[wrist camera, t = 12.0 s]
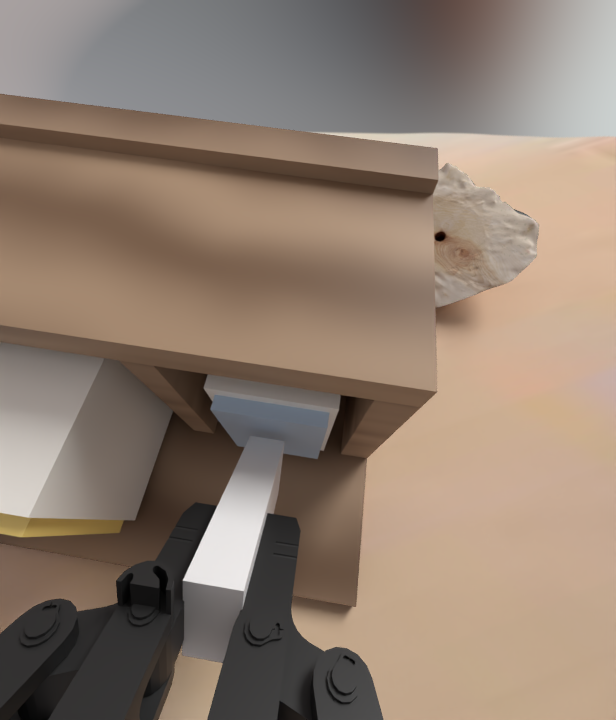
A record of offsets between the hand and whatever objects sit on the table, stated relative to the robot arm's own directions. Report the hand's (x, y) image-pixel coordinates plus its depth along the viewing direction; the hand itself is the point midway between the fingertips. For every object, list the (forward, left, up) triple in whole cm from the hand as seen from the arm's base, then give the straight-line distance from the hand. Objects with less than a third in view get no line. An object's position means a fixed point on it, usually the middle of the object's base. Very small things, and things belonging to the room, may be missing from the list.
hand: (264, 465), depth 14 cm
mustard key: (+8, +4, -4) cm, 10 cm away
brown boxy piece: (+9, +2, -5) cm, 11 cm away
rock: (+1, -21, -5) cm, 21 cm away
